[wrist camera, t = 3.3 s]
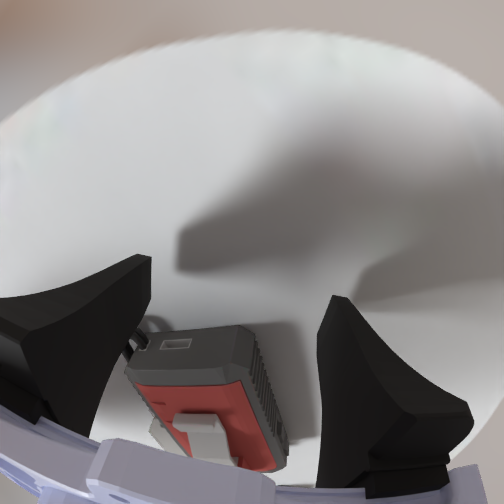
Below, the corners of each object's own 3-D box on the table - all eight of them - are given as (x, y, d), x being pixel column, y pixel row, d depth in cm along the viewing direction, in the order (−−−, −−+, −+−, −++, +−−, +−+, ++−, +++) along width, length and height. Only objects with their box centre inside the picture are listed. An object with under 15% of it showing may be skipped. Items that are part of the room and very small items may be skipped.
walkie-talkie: (98, 315, 16) (209, 474, 24) (59, 368, 12) (201, 513, 20) (250, 298, 14) (302, 474, 22) (237, 370, 10) (301, 516, 18)
